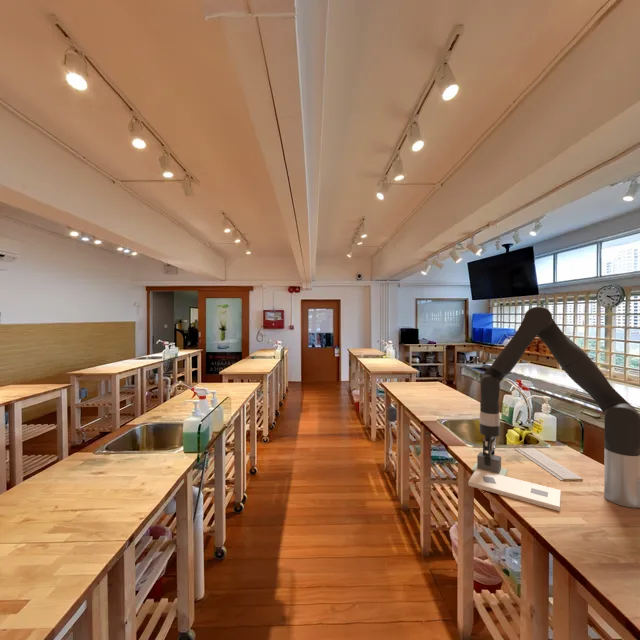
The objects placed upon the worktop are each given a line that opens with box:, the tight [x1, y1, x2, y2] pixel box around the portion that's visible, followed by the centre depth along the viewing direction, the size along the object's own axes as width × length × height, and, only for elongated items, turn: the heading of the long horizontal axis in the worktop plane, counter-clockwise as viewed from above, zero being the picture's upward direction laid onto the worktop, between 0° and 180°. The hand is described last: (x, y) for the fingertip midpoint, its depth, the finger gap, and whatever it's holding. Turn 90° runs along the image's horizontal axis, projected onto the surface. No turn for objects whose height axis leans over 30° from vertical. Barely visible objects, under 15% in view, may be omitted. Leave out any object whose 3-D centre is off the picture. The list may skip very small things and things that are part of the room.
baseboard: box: [515, 444, 584, 482], centre depth 144 cm, size 30×3×10 cm
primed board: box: [467, 469, 562, 512], centre depth 123 cm, size 28×13×2 cm, turn 53°
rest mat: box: [471, 461, 508, 477], centre depth 138 cm, size 12×9×1 cm
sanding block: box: [476, 451, 502, 474], centre depth 138 cm, size 8×5×6 cm, turn 53°
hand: (489, 461), depth 138 cm, fingers open, 8 cm apart
